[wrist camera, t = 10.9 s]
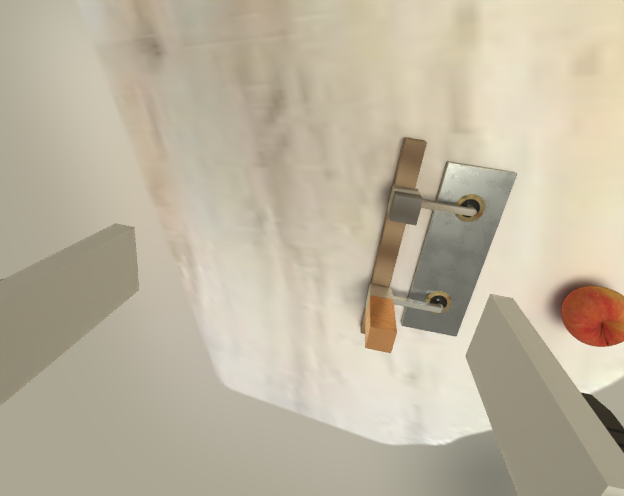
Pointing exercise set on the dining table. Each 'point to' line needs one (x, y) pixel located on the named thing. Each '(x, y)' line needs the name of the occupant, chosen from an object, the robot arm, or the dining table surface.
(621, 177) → the dining table surface
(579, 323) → the apple
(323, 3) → the dining table surface
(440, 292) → the bolt plate
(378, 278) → the gauge rail
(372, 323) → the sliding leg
